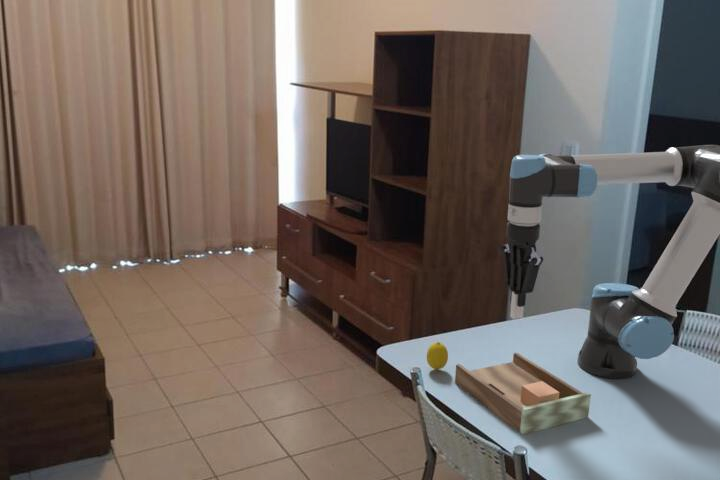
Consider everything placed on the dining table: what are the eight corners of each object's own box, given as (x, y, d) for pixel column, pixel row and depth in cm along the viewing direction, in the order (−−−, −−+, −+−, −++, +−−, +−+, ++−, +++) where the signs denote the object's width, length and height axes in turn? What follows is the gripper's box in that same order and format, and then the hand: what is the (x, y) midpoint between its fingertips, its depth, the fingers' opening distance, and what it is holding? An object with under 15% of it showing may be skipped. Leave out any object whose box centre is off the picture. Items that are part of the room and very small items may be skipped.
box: (515, 369, 188) (517, 349, 186) (588, 417, 164) (591, 393, 163) (454, 382, 180) (456, 361, 178) (522, 434, 156) (525, 410, 155)
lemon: (446, 376, 183) (448, 347, 181) (424, 373, 184) (426, 345, 182) (447, 366, 188) (449, 339, 186) (427, 364, 189) (428, 336, 187)
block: (540, 396, 168) (542, 381, 167) (557, 407, 163) (559, 392, 162) (520, 401, 166) (521, 385, 165) (537, 413, 161) (538, 397, 160)
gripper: (493, 217, 168) (487, 310, 174) (529, 230, 157) (521, 329, 163) (518, 214, 171) (512, 306, 178) (555, 227, 160) (546, 324, 166)
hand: (516, 317), depth 170 cm, fingers closed
